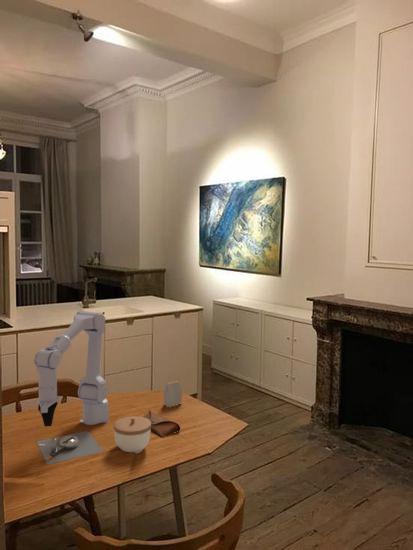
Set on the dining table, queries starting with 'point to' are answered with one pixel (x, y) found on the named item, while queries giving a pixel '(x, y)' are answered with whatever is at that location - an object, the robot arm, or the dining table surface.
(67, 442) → the grey piece
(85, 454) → the grey square mat
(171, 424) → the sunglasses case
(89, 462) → the dining table surface
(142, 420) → the lidded bowl
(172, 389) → the blue-gray rectangular block
